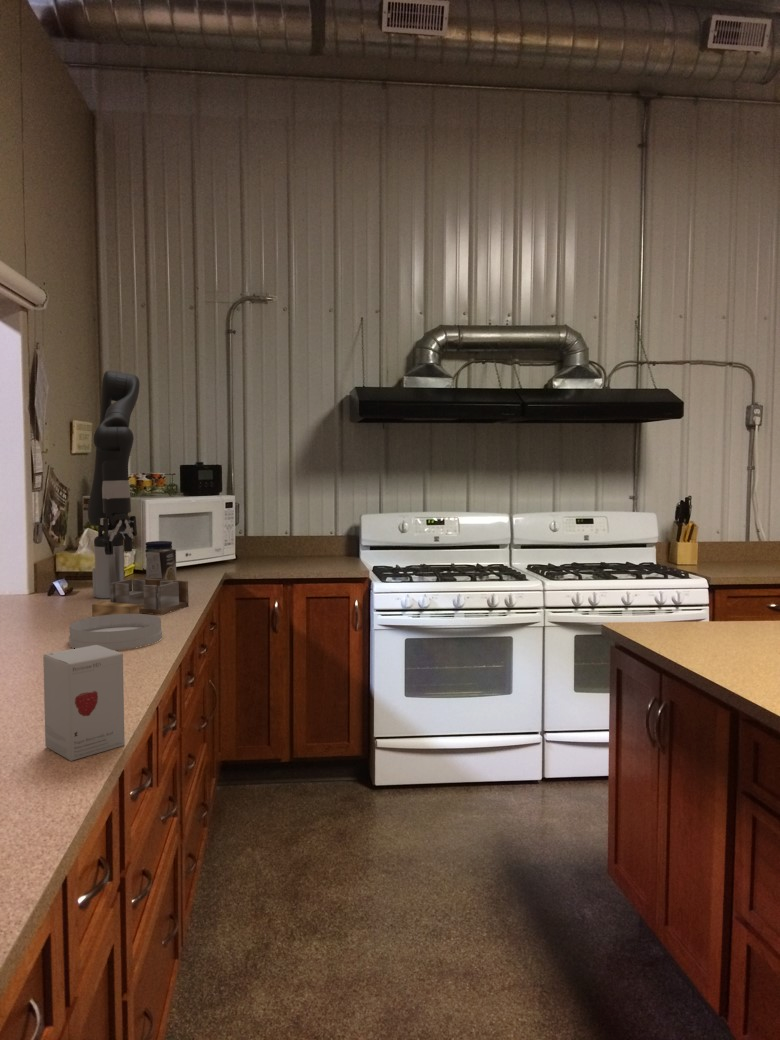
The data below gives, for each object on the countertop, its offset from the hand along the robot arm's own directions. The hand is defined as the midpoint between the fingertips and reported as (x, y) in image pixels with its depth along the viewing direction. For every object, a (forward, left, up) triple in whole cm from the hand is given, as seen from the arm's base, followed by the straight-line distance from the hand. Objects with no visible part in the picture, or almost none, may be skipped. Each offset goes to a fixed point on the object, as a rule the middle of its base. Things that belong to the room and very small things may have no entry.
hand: (118, 553), depth 214 cm
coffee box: (-7, +30, -19) cm, 37 cm away
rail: (0, -2, -19) cm, 19 cm away
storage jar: (-30, +61, -19) cm, 71 cm away
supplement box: (+59, -84, -19) cm, 105 cm away
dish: (+17, -23, -19) cm, 35 cm away
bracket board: (0, +14, -19) cm, 24 cm away
